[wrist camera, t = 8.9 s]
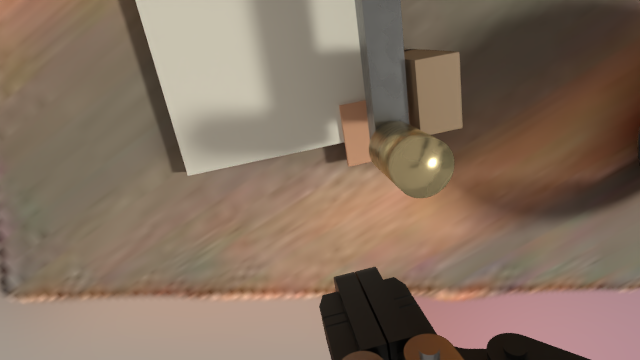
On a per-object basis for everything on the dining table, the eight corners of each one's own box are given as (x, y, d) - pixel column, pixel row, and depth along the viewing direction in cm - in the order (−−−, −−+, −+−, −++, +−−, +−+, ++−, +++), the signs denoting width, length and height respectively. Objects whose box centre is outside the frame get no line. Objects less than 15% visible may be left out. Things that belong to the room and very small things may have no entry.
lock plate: (402, -114, 29) (450, -159, 22) (423, 144, 35) (464, 169, 29) (116, -73, 26) (76, -110, 20) (196, 194, 33) (185, 232, 26)
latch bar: (330, -98, 24) (361, -145, 18) (395, -106, 24) (447, -155, 18) (362, 170, 30) (394, 204, 24) (414, 159, 30) (458, 190, 24)
